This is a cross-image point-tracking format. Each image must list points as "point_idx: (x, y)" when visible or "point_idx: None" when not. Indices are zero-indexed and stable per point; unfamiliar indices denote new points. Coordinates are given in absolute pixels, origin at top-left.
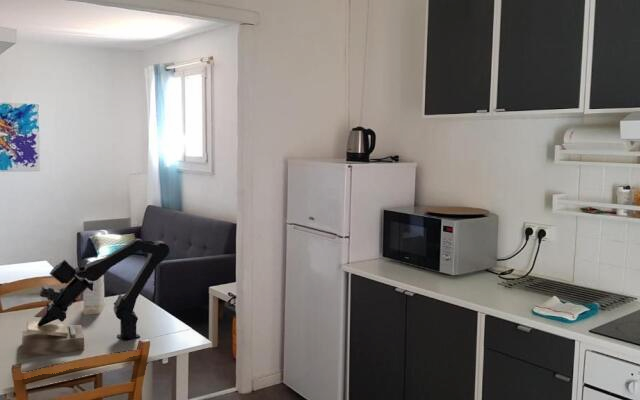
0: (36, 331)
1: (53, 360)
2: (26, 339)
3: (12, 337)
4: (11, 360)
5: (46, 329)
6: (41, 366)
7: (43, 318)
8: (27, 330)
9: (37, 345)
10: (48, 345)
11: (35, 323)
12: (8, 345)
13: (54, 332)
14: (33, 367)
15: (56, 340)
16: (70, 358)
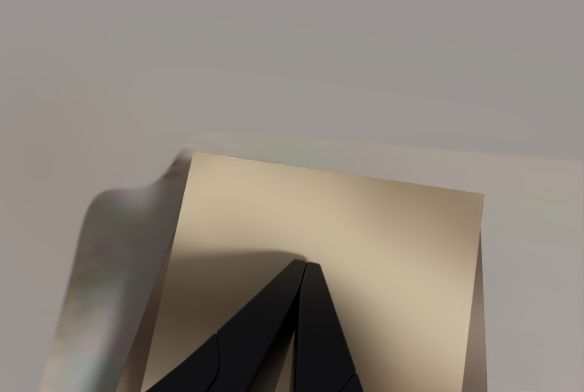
0: (183, 226)
1: (104, 295)
2: None
3: (571, 190)
4: (227, 149)
5: (208, 326)
6: (82, 233)
7: (222, 333)
8: (197, 155)
9: None
10: None
11: (395, 258)
12: (432, 159)
13: (144, 383)
14: (97, 205)
15: (131, 362)
16: (63, 381)
